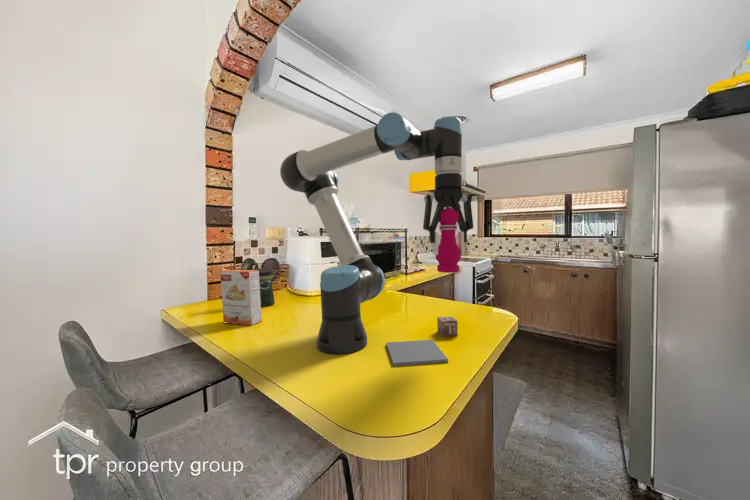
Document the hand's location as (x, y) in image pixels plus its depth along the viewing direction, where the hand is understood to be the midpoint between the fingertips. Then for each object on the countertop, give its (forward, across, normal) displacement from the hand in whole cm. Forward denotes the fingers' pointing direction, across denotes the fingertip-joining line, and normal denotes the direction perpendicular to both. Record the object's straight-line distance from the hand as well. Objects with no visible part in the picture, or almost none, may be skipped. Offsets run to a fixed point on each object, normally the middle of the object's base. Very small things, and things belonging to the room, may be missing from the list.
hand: (448, 253), depth 84 cm
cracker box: (+28, -70, +36) cm, 84 cm away
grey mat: (+27, -12, -5) cm, 30 cm away
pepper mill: (+5, 0, 0) cm, 5 cm away
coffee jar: (+29, -70, +65) cm, 100 cm away
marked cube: (+27, +3, +8) cm, 28 cm away
